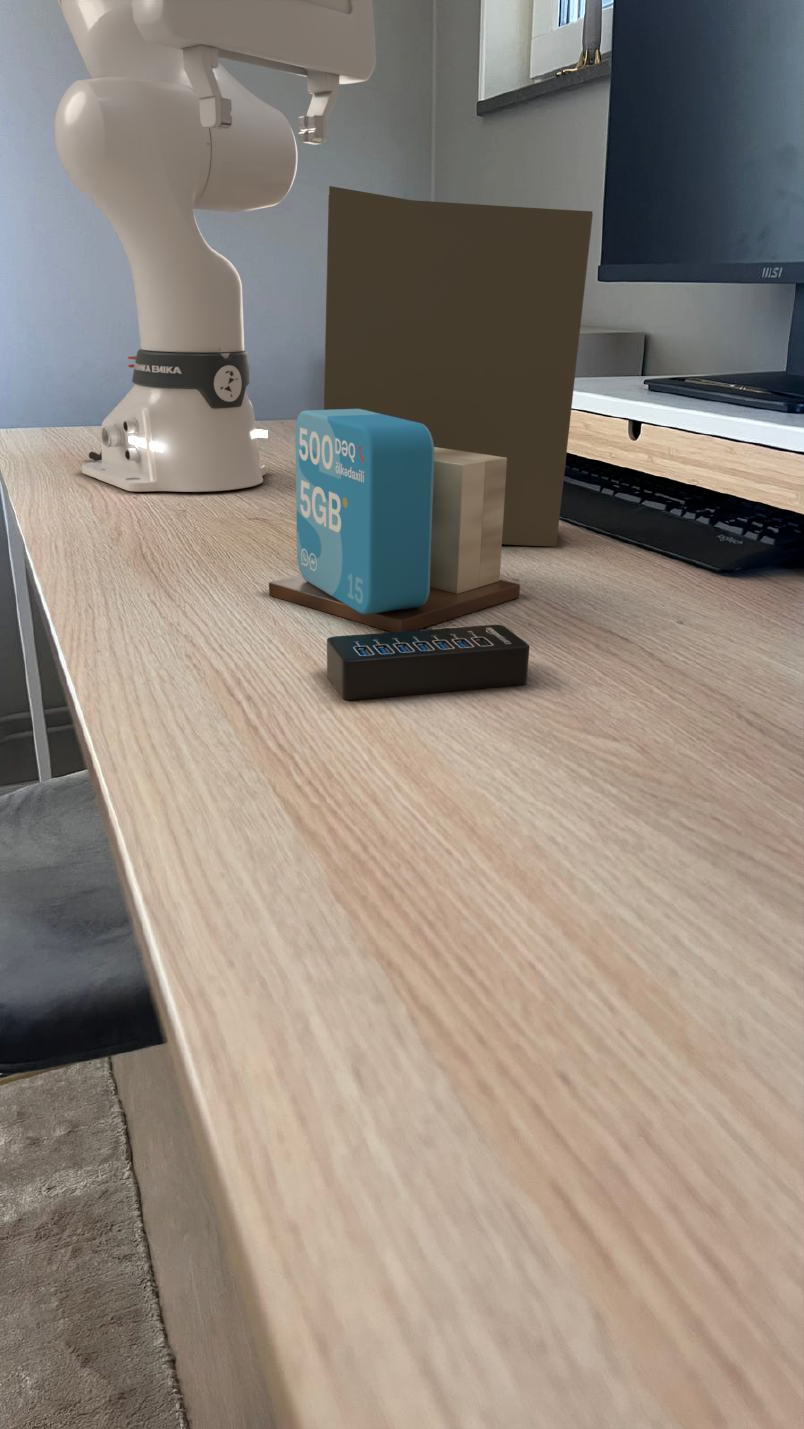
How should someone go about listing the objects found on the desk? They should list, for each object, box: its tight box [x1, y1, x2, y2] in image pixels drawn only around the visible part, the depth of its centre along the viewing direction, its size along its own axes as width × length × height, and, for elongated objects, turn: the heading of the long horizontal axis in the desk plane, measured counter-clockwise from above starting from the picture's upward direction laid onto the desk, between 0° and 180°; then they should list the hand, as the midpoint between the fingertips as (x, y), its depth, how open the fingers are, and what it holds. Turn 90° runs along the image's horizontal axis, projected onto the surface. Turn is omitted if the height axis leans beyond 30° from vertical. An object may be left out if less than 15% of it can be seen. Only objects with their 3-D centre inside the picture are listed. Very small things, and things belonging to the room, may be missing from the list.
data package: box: [294, 409, 434, 614], centre depth 70 cm, size 12×4×12 cm, turn 29°
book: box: [323, 185, 594, 548], centre depth 90 cm, size 22×9×28 cm, turn 94°
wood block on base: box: [268, 447, 521, 632], centre depth 74 cm, size 13×13×10 cm
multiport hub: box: [326, 624, 531, 701], centre depth 59 cm, size 4×11×2 cm, turn 107°
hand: (266, 136), depth 77 cm, fingers open, 8 cm apart
